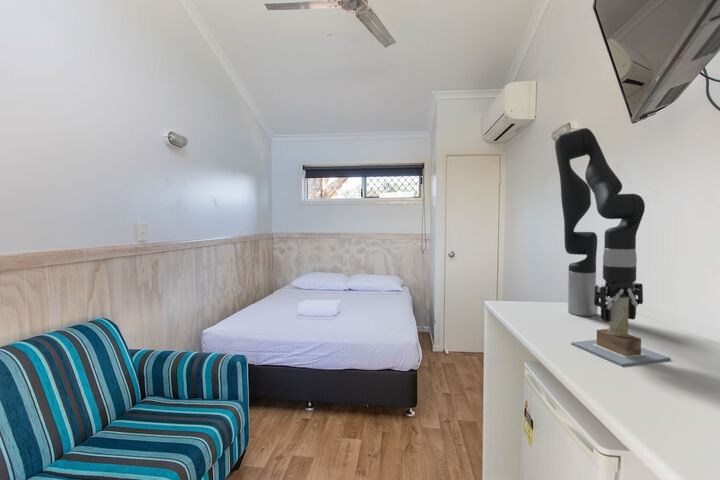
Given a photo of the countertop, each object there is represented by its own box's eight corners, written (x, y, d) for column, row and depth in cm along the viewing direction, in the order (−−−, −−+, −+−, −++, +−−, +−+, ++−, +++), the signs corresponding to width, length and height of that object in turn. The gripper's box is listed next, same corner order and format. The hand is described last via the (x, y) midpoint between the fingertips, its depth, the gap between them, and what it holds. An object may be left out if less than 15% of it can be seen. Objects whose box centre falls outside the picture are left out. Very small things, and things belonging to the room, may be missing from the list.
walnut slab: (610, 343, 100) (610, 328, 100) (640, 354, 91) (641, 338, 91) (596, 344, 99) (596, 329, 99) (625, 356, 90) (626, 340, 90)
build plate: (614, 339, 105) (614, 337, 105) (670, 359, 89) (670, 357, 89) (571, 344, 101) (571, 342, 101) (621, 366, 86) (621, 363, 86)
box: (628, 337, 92) (629, 298, 91) (608, 335, 94) (609, 296, 94) (627, 332, 96) (628, 295, 95) (609, 330, 98) (609, 293, 98)
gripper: (626, 261, 99) (625, 314, 100) (586, 263, 96) (586, 318, 97) (653, 264, 92) (652, 321, 92) (611, 267, 89) (609, 326, 90)
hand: (618, 320), depth 95 cm, fingers open, 8 cm apart
